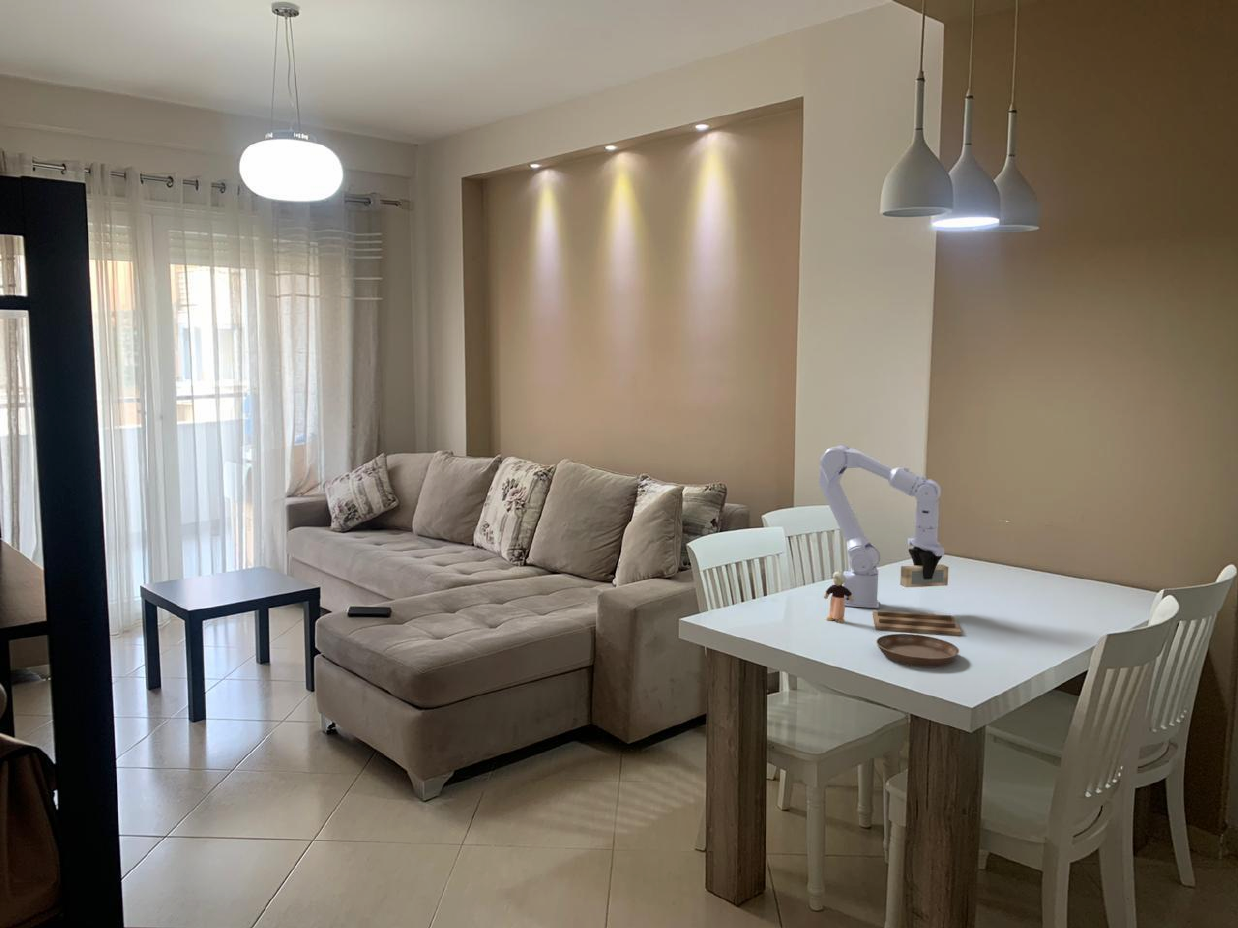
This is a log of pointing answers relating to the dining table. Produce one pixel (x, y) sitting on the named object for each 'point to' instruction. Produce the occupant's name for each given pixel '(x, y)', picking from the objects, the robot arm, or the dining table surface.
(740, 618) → the dining table surface
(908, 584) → the beige long rectangular block
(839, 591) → the grandmother figurine
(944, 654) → the plant saucer
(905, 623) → the picture ledge
